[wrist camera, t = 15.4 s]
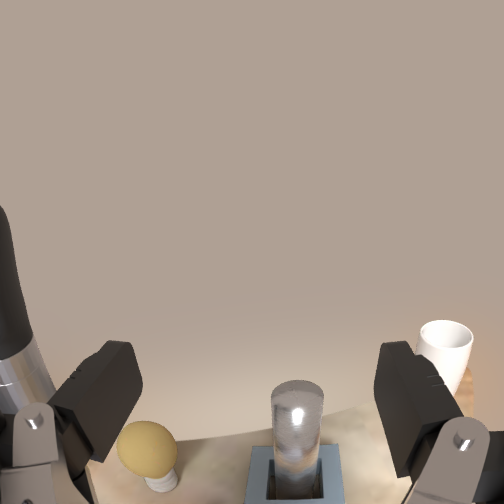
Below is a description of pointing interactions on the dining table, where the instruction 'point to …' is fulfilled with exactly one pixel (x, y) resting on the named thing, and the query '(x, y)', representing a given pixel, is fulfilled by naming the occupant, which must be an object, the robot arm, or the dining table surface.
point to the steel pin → (296, 437)
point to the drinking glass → (446, 349)
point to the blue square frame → (265, 467)
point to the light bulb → (149, 454)
